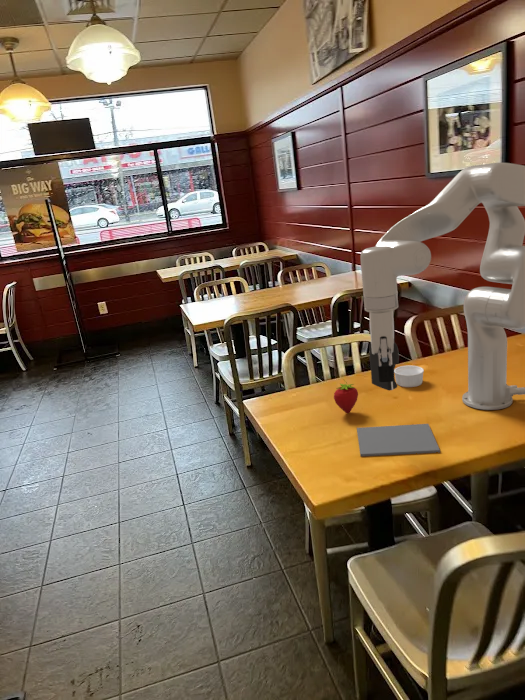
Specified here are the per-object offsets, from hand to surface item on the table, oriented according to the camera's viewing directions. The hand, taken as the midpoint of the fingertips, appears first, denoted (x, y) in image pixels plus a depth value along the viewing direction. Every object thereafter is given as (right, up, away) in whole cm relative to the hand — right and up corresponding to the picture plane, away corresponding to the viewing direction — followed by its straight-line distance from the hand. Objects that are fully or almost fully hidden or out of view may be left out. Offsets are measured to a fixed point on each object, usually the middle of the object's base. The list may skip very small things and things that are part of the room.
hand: (386, 375), depth 123 cm
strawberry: (-5, -12, +23) cm, 26 cm away
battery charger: (0, -3, +1) cm, 3 cm away
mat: (+3, -16, +4) cm, 17 cm away
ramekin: (+17, -5, +39) cm, 43 cm away
